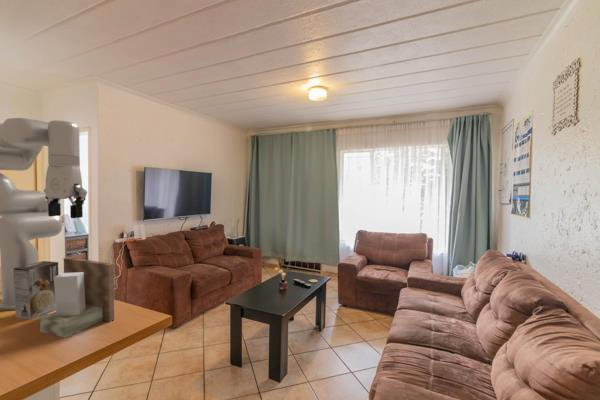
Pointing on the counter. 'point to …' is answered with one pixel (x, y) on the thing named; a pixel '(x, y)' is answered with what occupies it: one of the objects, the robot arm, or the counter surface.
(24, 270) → the coffee box
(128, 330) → the counter surface
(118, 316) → the counter surface
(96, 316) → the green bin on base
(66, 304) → the skincare box
